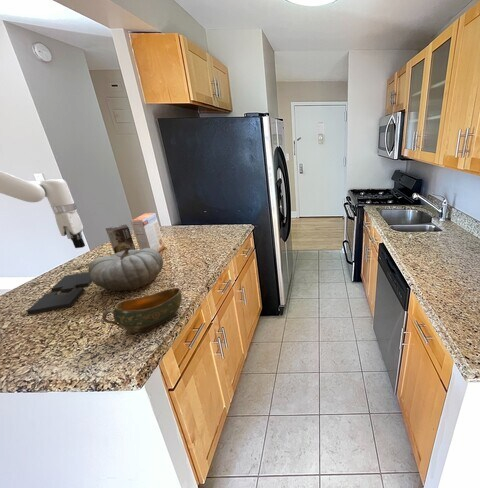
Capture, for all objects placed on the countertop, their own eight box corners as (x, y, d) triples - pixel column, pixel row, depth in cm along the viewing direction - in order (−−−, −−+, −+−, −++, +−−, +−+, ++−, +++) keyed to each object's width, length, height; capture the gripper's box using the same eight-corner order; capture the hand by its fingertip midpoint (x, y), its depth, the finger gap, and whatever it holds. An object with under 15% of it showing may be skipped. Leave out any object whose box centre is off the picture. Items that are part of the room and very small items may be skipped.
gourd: (150, 292, 101) (132, 250, 96) (83, 307, 99) (61, 266, 94) (176, 268, 125) (163, 234, 120) (123, 280, 123) (107, 246, 118)
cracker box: (154, 248, 149) (144, 212, 141) (165, 247, 150) (156, 212, 142) (141, 258, 136) (129, 220, 128) (153, 257, 137) (142, 219, 129)
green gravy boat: (122, 317, 91) (113, 292, 87) (185, 305, 98) (180, 281, 94) (109, 342, 80) (98, 315, 76) (181, 326, 86) (174, 301, 83)
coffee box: (135, 251, 145) (126, 224, 139) (137, 255, 140) (129, 226, 134) (114, 256, 139) (105, 227, 133) (116, 260, 134) (106, 230, 128)
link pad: (49, 294, 105) (47, 291, 104) (66, 278, 117) (65, 275, 116) (86, 288, 109) (85, 285, 108) (99, 273, 121) (98, 270, 120)
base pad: (28, 314, 93) (26, 310, 92) (47, 296, 103) (45, 293, 103) (70, 306, 97) (69, 303, 96) (84, 290, 107) (83, 287, 107)
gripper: (62, 205, 118) (77, 242, 125) (43, 213, 105) (62, 254, 112) (82, 203, 120) (96, 240, 127) (67, 211, 107) (83, 251, 115)
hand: (80, 247), depth 120 cm, fingers closed
